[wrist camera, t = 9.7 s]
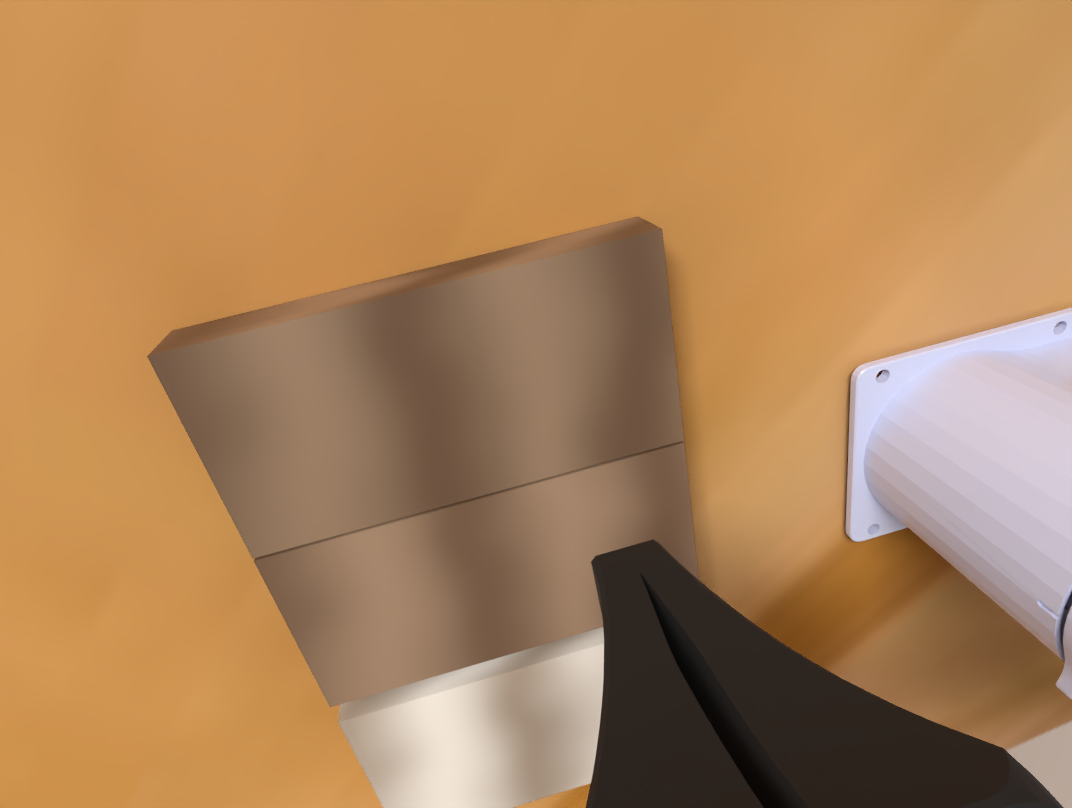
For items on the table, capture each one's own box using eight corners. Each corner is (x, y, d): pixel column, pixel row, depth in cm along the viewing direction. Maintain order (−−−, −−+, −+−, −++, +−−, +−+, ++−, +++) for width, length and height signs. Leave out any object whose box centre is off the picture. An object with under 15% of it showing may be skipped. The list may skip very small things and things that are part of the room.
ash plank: (682, 578, 26) (702, 614, 25) (696, 705, 30) (715, 743, 28) (342, 677, 25) (338, 722, 23) (401, 795, 29) (401, 842, 27)
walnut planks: (638, 216, 20) (662, 229, 18) (680, 563, 26) (700, 597, 24) (172, 330, 18) (147, 356, 17) (335, 663, 25) (330, 707, 23)
